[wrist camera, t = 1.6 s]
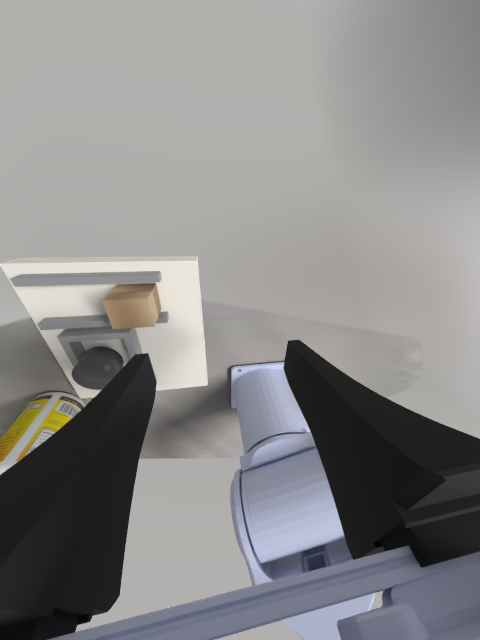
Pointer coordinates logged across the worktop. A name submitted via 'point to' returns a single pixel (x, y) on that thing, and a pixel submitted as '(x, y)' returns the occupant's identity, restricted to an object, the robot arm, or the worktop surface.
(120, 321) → the tan block
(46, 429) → the supplement bottle
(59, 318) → the switch board
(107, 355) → the black push button
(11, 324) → the worktop surface
